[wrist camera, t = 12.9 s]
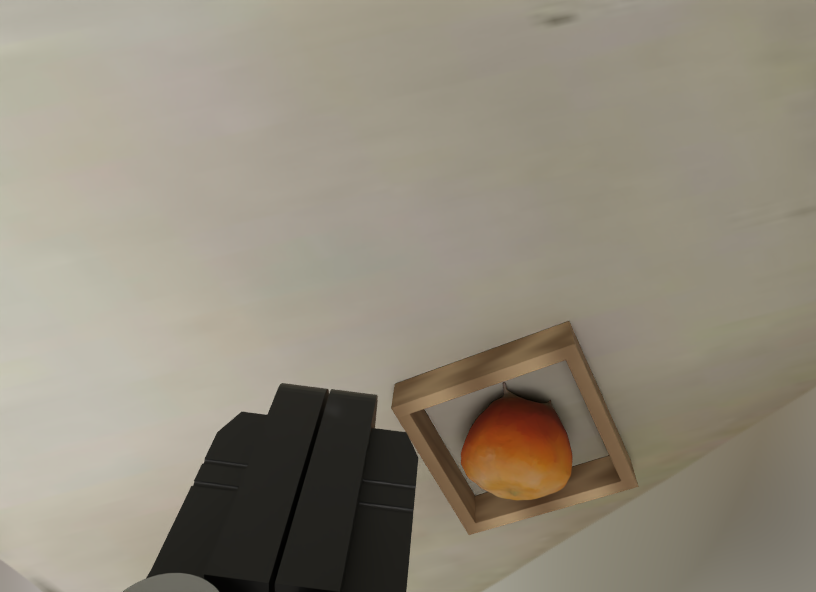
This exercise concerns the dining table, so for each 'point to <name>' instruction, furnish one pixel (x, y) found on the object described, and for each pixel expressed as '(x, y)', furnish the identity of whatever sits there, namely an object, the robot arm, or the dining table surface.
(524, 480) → the fruit
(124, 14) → the dining table surface
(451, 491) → the wooden tray
